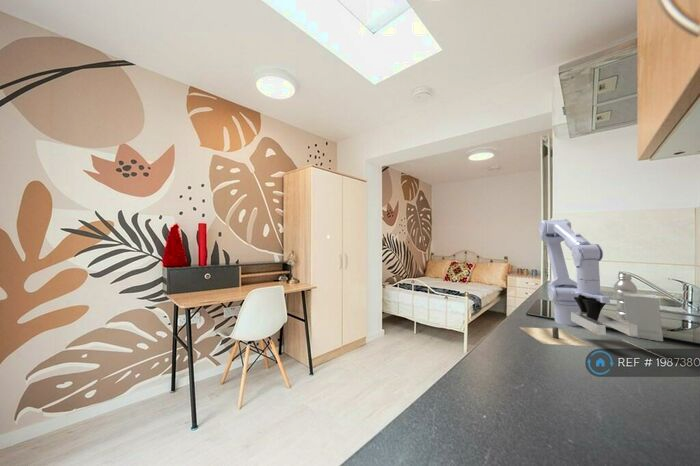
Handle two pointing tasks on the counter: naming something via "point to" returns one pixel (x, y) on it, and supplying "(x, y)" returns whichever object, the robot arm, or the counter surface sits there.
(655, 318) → the skincare box
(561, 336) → the hook board
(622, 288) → the plastic bottle
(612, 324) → the c link
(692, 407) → the counter surface
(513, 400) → the counter surface
